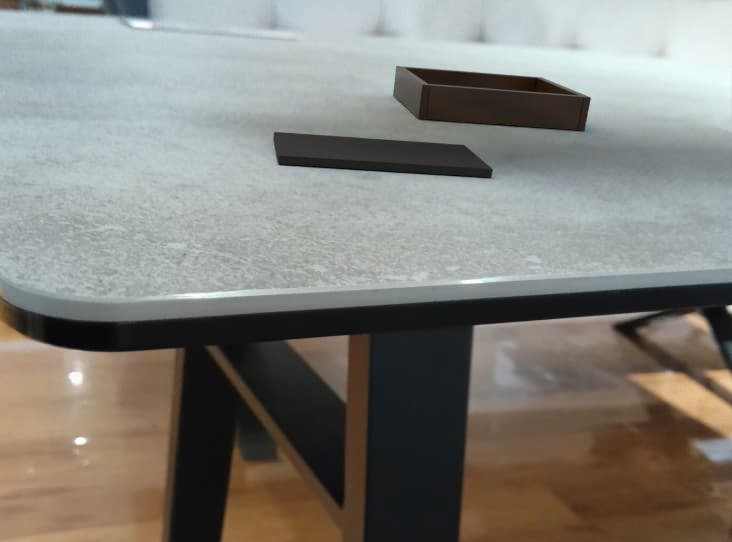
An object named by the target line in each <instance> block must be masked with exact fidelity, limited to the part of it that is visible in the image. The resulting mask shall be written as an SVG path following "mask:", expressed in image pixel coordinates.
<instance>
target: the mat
mask: <svg viewBox="0 0 732 542" xmlns="http://www.w3.org/2000/svg"><path fill="white" fill-rule="evenodd" d="M272 139H273V144H274V150H275V154H276V160H277V164H278V165H286V166H287V165H289V166H301V167H318V168H332V169H333V168H334V169H351V170H364V171H365V170H366V171H379V172H380V171H382V172H395V173H396V172H398V173H412V174H413V173H416V174H429V175H430V174H431V175H446V176H460V177H461V176H462V177H477V178H492V176H493V171H494V168H492V166H490V165H489V164H487V163H486V161H484V160H483V159H482V158H480V156H479V155H477V154H476V153H474V152H473V150H471V149H470V148H468V146H466V145H465V144H460V143H459V144H457V143H447V142H445V143H443V142H431V141H430V142H429V141H414V140H400V139H385V138H370V137H358V136H357V137H355V136H344V135H343V136H342V135H341V136H340V135H327V134H313V133H299V132H297V133H296V132H283V131H273V137H272Z"/></svg>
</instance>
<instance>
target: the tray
mask: <svg viewBox="0 0 732 542" xmlns="http://www.w3.org/2000/svg"><path fill="white" fill-rule="evenodd" d="M392 92H393V93H392V96H393V97H394V98H395V100H397V101H398V102H399V103H400V104H402V105H403V106H404V108H406V109H407V110H408V111H409V112H410V113H411V114H413V115H414V116H415V117H416V118H417V119H418V120H427V121H428V120H429V121H440V122H441V121H443V122H454V123H455V122H457V123H472V124H483V123H488V124H487V125H497V124H508V125H507V126H511V125H517V126H516V127H524V128H525V127H526V128H538V129H539V128H541V129H555V130H567V131H569V130H570V131H585V130H586V125H587V121H588V115H589V111H590V105H591V102H592V101H591V100H592V97H591V96H589V95H586V94H583V93H581V92H580V91H576V90H574V89H572V88H569V87H566V86H564V85H561V84H559V83H557V82H554V81H551V80H549V79H547V78H545V77H543V76H529V75H519V74H505V73H493V72H480V71H465V70H455V69H454V70H453V69H440V68H428V67H415V66H403V65H396V66H395V74H394V83H393V91H392Z"/></svg>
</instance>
